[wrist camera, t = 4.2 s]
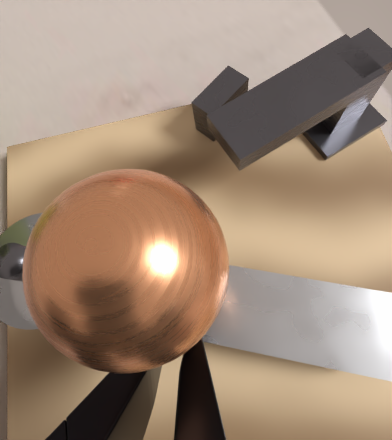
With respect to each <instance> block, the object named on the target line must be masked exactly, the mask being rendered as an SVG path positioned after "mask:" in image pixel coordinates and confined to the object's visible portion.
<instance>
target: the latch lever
mask: <svg viewBox="0 0 392 440" xmlns="http://www.w3.org/2000/svg"><path fill="white" fill-rule="evenodd" d="M7 243H18V244H21V245H23V246H26V249H25V253H24V259H23V273H22V280H23V282H21V281H15V280H9V279H3V278H0V321H2V322H3V323H5V324H7V325H9V326H11V327H14V328H18V329H24V330H33V329H39V330H40V332H41V333H42V334H43V336H44V337H45V338H46V340H47V341H48V342H49V343H50V344H51V345H52V346H53V347H54V348H55V349H56V350H58V351H59V352H61V353H62V354H63V355H65V356H66V357H68V358H69V359H71V360H73V361H75V362H77V363H79V364H81V365H83V366H85V367H88V368H91V369H94V370H98V371H104V372H110V373H135V372H143V371H147V370H150V369H153V368H157V367H160V366H162V365H164V364H166V363H169V362H171V361H173V360H175V359H176V358H178V357H180V356H181V355H183V354H184V353H186V352H187V351H188V350H189V349H191V348H192V347H193V346H194V345H195V344H197V342H198V341H199V340H200V339H201V338H203V342H207V343H212V344H217V345H221V346H226V347H231V348H236V349H240V350H245V351H250V352H254V353H259V354H264V355H269V356H273V357H278V358H283V359H287V360H292V361H297V362H302V363H306V364H311V365H316V366H320V367H325V368H330V369H335V370H339V371H344V372H349V373H353V374H358V375H363V376H368V377H372V378H377V379H382V380H386V381H391V382H392V293H389V292H383V291H377V290H371V289H366V288H360V287H354V286H348V285H342V284H337V283H331V282H325V281H319V280H313V279H308V278H302V277H296V276H290V275H284V274H279V273H273V272H267V271H261V270H255V269H250V268H244V267H238V266H232V265H229V255H228V250H227V244H226V241H225V238H224V235H223V232H222V229H221V227H220V225H219V223H218V221H217V219H216V217H215V216H214V214H213V212H212V211H211V209H210V208H209V207H208V206H207V205H206V203H205V202H204V201H203V200H202V199H201V198H200V197H199V196H198V195H197V194H196V193H195V192H193V191H192V190H191V189H190V188H188V187H187V186H185V185H184V184H182V183H181V182H179V181H177V180H175V179H173V178H171V177H168V176H166V175H163V174H160V173H157V172H153V171H148V170H142V169H116V170H110V171H105V172H101V173H98V174H95V175H92V176H90V177H87V178H85V179H83V180H81V181H79V182H77V183H75V184H74V185H72V186H70V187H69V188H68V189H66V190H65V191H63V192H62V193H61V194H60V195H59V196H57V197H56V198H55V199H54V200H53V201H52V202H51V203H50V204H49V206H48V207H47V208H46V209H45V210H44V212H43V213H38V214H34V215H30V216H28V217H25V218H23V219H21V220H19V221H17V222H16V223H14V224H13V225H11V226H10V227H9V228H8V229H7V230H5V231H4V232H3V233H2V234H1V236H0V247H1V246H3V245H5V244H7Z"/></svg>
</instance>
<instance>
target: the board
mask: <svg viewBox="0 0 392 440" xmlns="http://www.w3.org/2000/svg"><path fill="white" fill-rule="evenodd" d="M116 169H142V170H148V171H153V172H157V173H160V174H163V175H166V176H168V177H171V178H173V179H175V180H177V181H179V182H181V183H182V184H184V185H185V186H187V187H188V188H190V189H191V190H192V191H193V192H195V193H196V194H197V195H198V196H199V197H200V198H201V199H202V200H203V201H204V202H205V203H206V205H207V206H208V207H209V208H210V209H211V211H212V212H213V214H214V216H215V217H216V219H217V221H218V223H219V225H220V227H221V229H222V232H223V235H224V238H225V241H226V244H227V250H228V255H229V265H232V266H238V267H244V268H250V269H255V270H261V271H267V272H273V273H279V274H284V275H290V276H296V277H302V278H308V279H313V280H319V281H325V282H331V283H337V284H342V285H348V286H354V287H360V288H366V289H371V290H377V291H383V292H389V293H392V152H391V150H390V148H389V146H388V143H387V141H386V139H385V137H384V135H383V133H382V130H381V128H380V127H379V128H378V129H376V130H374V131H373V132H371V133H369V134H368V135H366V136H365V137H363V138H361V139H360V140H358V141H356V142H355V143H353V144H352V145H350V146H348V147H347V148H345V149H343V150H342V151H340V152H339V153H337V154H335V155H334V156H332V157H330V158H329V159H327V160H325V159H324V158H323V157H322V156H321V155H320V154H319V152H318V151H317V150H316V149H315V148H314V147H313V146H312V144H311V143H310V142H309V141H308V140H307V139H306V138H305V136H304V135H303V134H300V135H298V136H297V137H295V138H293V139H292V140H290V141H288V142H287V143H285V144H283V145H282V146H280V147H278V148H277V149H275V150H273V151H272V152H270V153H268V154H267V155H265V156H264V157H262V158H260V159H259V160H257V161H255V162H254V163H252V164H250V165H249V166H247V167H245V168H244V169H242V170H240V171H239V170H238V168H237V167H236V166H235V164H234V163H233V162H232V160H231V159H230V158H229V156H228V155H227V154H226V152H225V151H224V150H223V148H222V147H221V146H220V144H219V143H218V142H217V140H215V141H214V142H213V141H212V140H210V139H209V138H208V137H206V136H205V135H203V134H202V133H201V132H199V131H198V130H196V126H195V120H194V114H193V108H192V104H190V105H186V106H182V107H177V108H173V109H169V110H164V111H160V112H156V113H151V114H147V115H143V116H139V117H134V118H130V119H126V120H121V121H117V122H113V123H108V124H104V125H100V126H95V127H91V128H87V129H82V130H78V131H74V132H70V133H65V134H61V135H57V136H52V137H48V138H44V139H39V140H35V141H31V142H26V143H22V144H18V145H13V146H9V147H7V229H8V228H9V227H10V226H11V225H13V224H14V223H16V222H17V221H19V220H21V219H23V218H25V217H28V216H30V215H34V214H38V213H43V212H44V210H45V209H46V208H47V207H48V206H49V204H50V203H51V202H52V201H53V200H54V199H55V198H56V197H57V196H59V195H60V194H61V193H62V192H63V191H65V190H66V189H68V188H69V187H70V186H72V185H74V184H75V183H77V182H79V181H81V180H83V179H85V178H87V177H90V176H92V175H95V174H98V173H101V172H105V171H110V170H116ZM203 343H204V347H205V351H206V355H207V359H208V364H209V368H210V372H211V376H212V381H213V385H214V389H215V393H216V397H217V402H218V406H219V410H220V414H221V419H222V423H223V427H224V431H225V435H226V440H392V382H391V381H386V380H382V379H377V378H372V377H368V376H363V375H358V374H353V373H349V372H344V371H339V370H335V369H330V368H325V367H320V366H316V365H311V364H306V363H302V362H297V361H292V360H287V359H283V358H278V357H273V356H269V355H264V354H259V353H254V352H250V351H245V350H240V349H236V348H231V347H226V346H221V345H217V344H212V343H207V342H203ZM182 357H183V355H181V356H180V357H178V358H176V359H175V360H173V361H171V362H169V363H166V364H164V365H162V368H161V373H160V378H159V383H158V388H157V393H156V398H155V402H154V406H153V410H152V413H151V416H150V419H149V423H148V426H147V429H146V432H145V435H144V438H143V440H174V430H175V418H176V405H177V393H178V381H179V371H180V366H181V361H182ZM108 373H109V372H104V371H98V370H94V369H91V368H88V367H85V366H83V365H81V364H79V363H77V362H75V361H73V360H71V359H69V358H68V357H66V356H65V355H63V354H62V353H61V352H59V351H58V350H56V349H55V348H54V347H53V346H52V345H51V344H50V343H49V342H48V341H47V340H46V338H45V337H44V336H43V334H42V333H41V332H40V330H39V329H33V330H24V329H18V328H14V327H11V326H9V325H7V440H45V439H46V438H47V437H48V436H49V435H50V434H51V433H52V432H53V431H54V430H55V429H56V428H57V427H58V426H59V425H60V424H61V422H62V421H63V420H66V417H67V416H68V415H69V414H70V413H71V412H72V411H73V410H74V409H75V408H76V407H77V406H78V405H79V404H80V403H81V402H82V401H83V399H84V398H85V397H86V396H87V395H88V394H89V393H90V392H91V391H92V390H93V389H94V388H95V387H96V386H97V385H98V384H99V383H100V382H101V380H102V379H103V378H104V377H105V376H106V375H107V374H108Z"/></svg>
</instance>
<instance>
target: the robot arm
mask: <svg viewBox="0 0 392 440" xmlns="http://www.w3.org/2000/svg"><path fill="white" fill-rule="evenodd" d="M161 368H162V366H160V367H157V368H153V369H150V370H147V371H143V372H135V373H110V372H109V373H108V374H107V375H106V376H105V377H104V378H103V379H102V380H101V382H100V383H99V384H98V385H97V386H96V387H95V388H94V389H93V390H92V391H91V392H90V393H89V394H88V395H87V396H86V397H85V398H84V399H83V401H82V402H81V403H80V404H79V405H78V406H77V407H76V408H75V409H74V410H73V411H72V412H71V413H70V414H69V415H68V416H67V417H66V420H63V421H62V422H61V424H60V425H59V426H58V427H57V428H56V429H55V430H54V431H53V432H52V433H51V434H50V435H49V436H48V437H47V438H46V439H45V440H143V438H144V435H145V432H146V429H147V426H148V423H149V419H150V416H151V413H152V410H153V406H154V402H155V398H156V393H157V388H158V383H159V378H160V373H161ZM174 440H226V435H225V431H224V427H223V423H222V419H221V414H220V410H219V406H218V402H217V397H216V393H215V389H214V385H213V381H212V376H211V372H210V368H209V364H208V359H207V355H206V351H205V347H204V343H203V338H201V339H200V340H199V341H198V342H197V344H195V345H194V346H193V347H192V348H191V349H189V350H188V351H187V352H186V353H184V354H183V357H182V361H181V366H180V371H179V381H178V393H177V405H176V418H175V430H174Z"/></svg>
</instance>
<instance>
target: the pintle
mask: <svg viewBox="0 0 392 440" xmlns="http://www.w3.org/2000/svg"><path fill="white" fill-rule="evenodd" d="M25 249H26V246H23V245H21V244H18V243H7V244H5V245H3V246H1V247H0V278H3V279H9V280H15V281H21V282H23V280H22V273H23V259H24V253H25Z"/></svg>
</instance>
